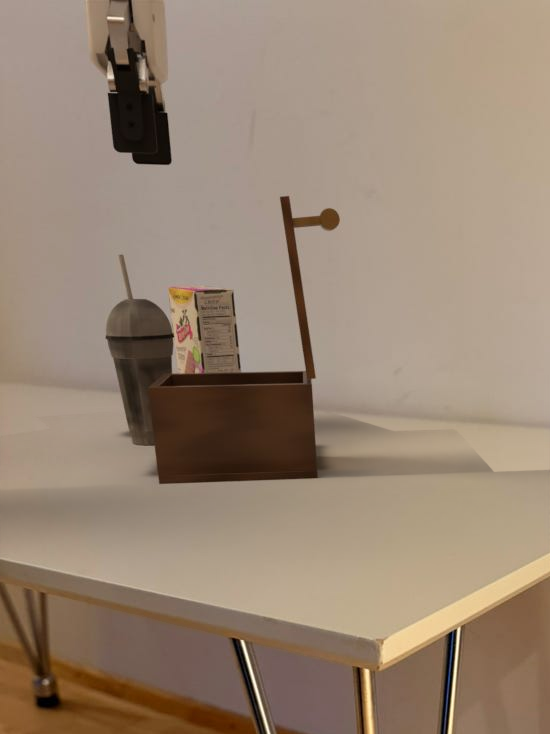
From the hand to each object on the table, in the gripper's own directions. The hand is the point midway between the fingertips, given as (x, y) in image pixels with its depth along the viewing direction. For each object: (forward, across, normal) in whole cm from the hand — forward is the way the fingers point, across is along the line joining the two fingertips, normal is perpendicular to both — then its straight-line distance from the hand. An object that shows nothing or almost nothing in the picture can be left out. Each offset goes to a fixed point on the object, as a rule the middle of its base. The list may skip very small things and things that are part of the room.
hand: (144, 158), depth 80 cm
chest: (+27, -8, +6) cm, 29 cm away
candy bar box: (+27, -36, +1) cm, 45 cm away
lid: (+10, -7, +12) cm, 17 cm away
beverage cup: (+27, -26, -5) cm, 38 cm away
